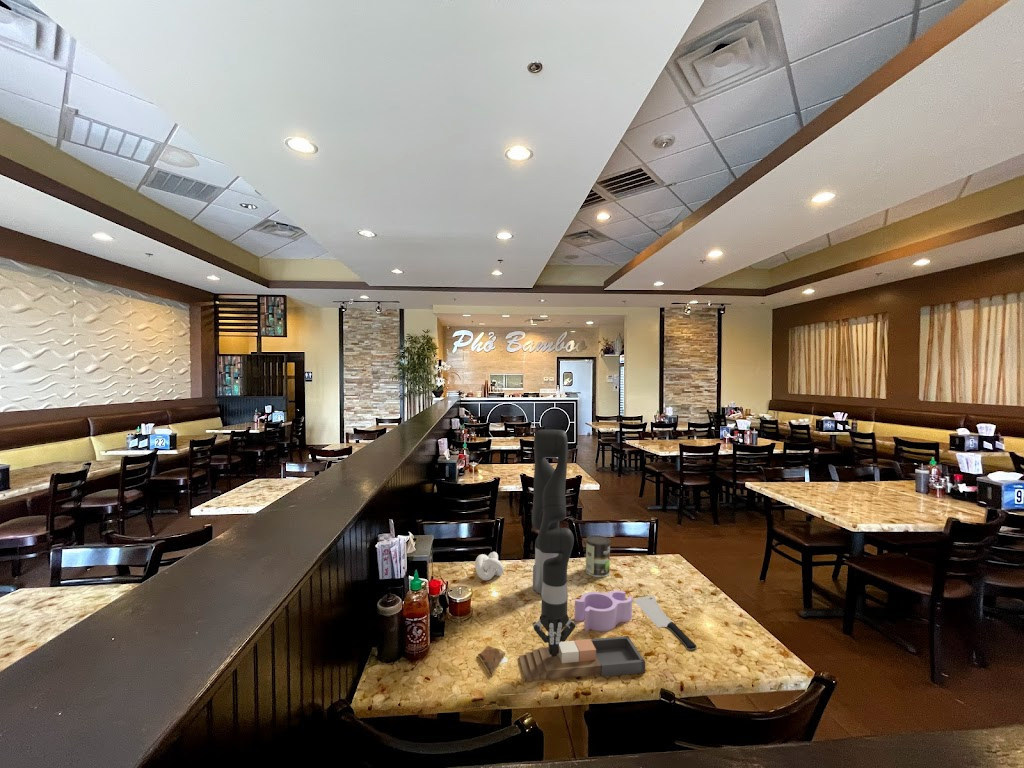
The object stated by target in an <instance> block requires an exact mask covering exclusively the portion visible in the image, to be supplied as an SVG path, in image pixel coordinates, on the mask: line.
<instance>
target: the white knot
mask: <svg viewBox="0 0 1024 768" xmlns="http://www.w3.org/2000/svg"><path fill="white" fill-rule="evenodd" d="M474 562H475V563H474V568H475V573H476V575H477V576H478V577H479V579H480V580H483V581H485V582H486V581H490V580H492V578H493V577H494V576H498V577H500V576H502V575H503V574H504V570H505V568H504V565H503V563H502V562H501V561H500V560H499V554H498V553H497V552H496V551H492V552H491V551H490V553H489V554H488V555H487V554H485V553H484V554H483V553H482V554H479V555H478V556H477V557H476V559H475V561H474Z"/></svg>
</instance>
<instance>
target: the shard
mask: <svg viewBox="0 0 1024 768" xmlns="http://www.w3.org/2000/svg"><path fill="white" fill-rule="evenodd" d="M505 656H506V651H504V650H502V649H499V648H496V647H493V646H491V645H486V646H485V647H484V649H483V650H482V651H481V652H480V653H477V657H478V659H479V660H480V661H481V662H482V664H483V666H484V668H485V670H486V672H487V674H489V676H490V677H492V678H493V676H494V674H495V672H496V670H497V668H498V667H499V665H500V663H501V662H502V660H503V659H504V657H505Z"/></svg>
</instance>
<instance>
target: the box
mask: <svg viewBox="0 0 1024 768" xmlns="http://www.w3.org/2000/svg"><path fill="white" fill-rule="evenodd" d="M590 639H591V641H592V643H593V645H594V647H595V649H596V657H597V659H598V661H599V663H600V665H601V674H600V676H601V678H602V677H614V676H622V675H634V674H644V673H645V674H646V660H645V659H644V657H643V656H642V654H641V653H640V651H639V649H638V648H637V647H636V645H635V644H634V642H633V641H632V639H631V638H630V637H629V636H628V635H625V636H623V635H622V636H614V637H612V636H611V637H600V638H590Z"/></svg>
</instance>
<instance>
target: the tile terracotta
mask: <svg viewBox="0 0 1024 768" xmlns="http://www.w3.org/2000/svg"><path fill="white" fill-rule="evenodd" d="M591 639H592V638H590V639H589V638H587V639H577V640H576V639H575V640H574V642H575V644H576V646H577V648H578V651H579V661H590V660H596V649H595V647H594V645H593V643H592V641H591Z"/></svg>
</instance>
